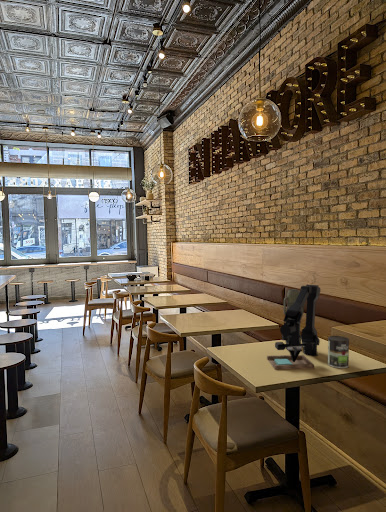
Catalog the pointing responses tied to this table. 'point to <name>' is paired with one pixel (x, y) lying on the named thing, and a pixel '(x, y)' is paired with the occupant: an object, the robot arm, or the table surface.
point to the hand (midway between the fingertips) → (293, 361)
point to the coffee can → (338, 351)
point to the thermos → (291, 302)
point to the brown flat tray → (298, 364)
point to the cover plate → (282, 362)
